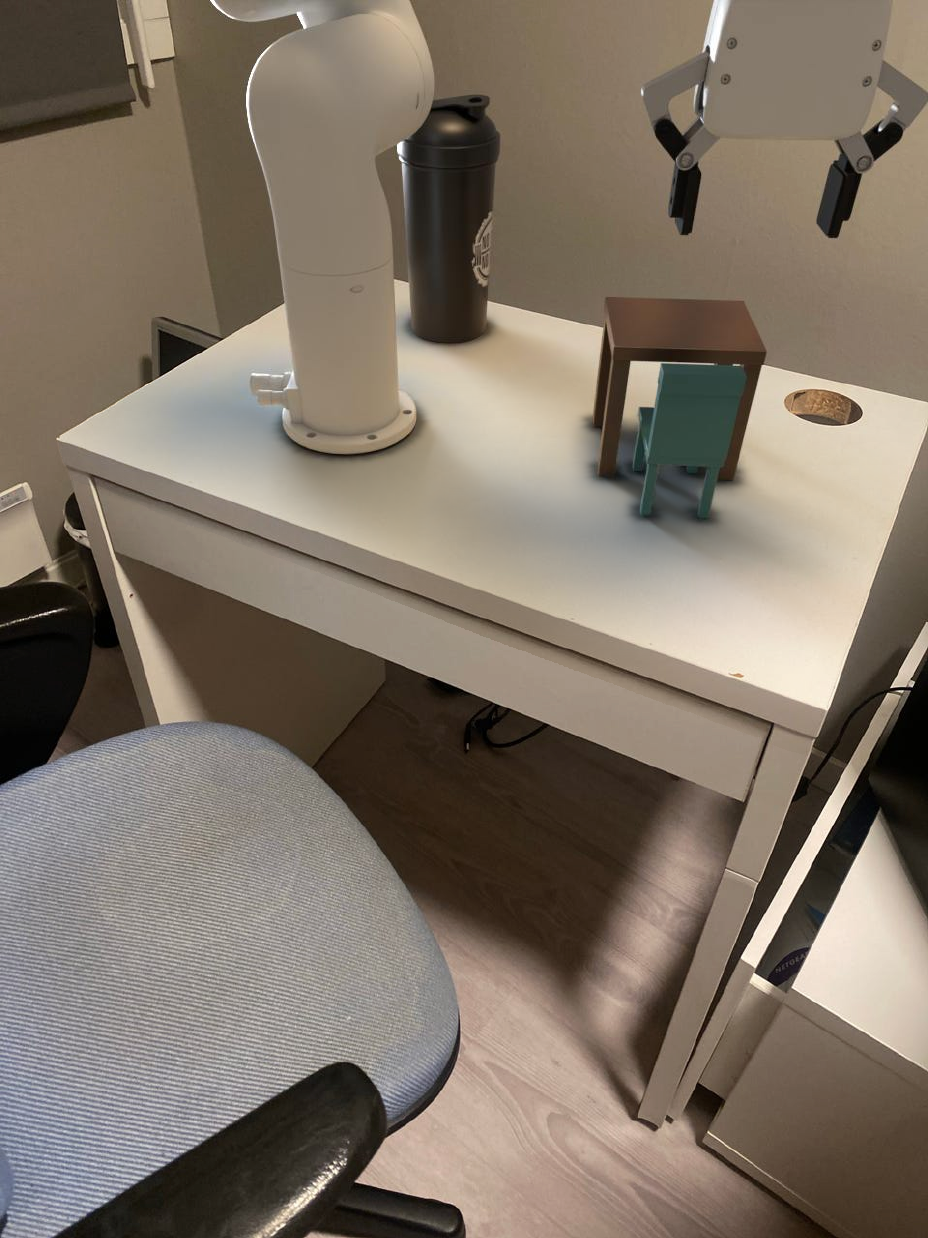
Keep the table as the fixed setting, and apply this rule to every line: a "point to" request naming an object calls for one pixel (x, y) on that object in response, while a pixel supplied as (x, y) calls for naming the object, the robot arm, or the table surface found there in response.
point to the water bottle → (450, 217)
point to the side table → (672, 357)
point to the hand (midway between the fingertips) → (754, 229)
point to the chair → (689, 425)
